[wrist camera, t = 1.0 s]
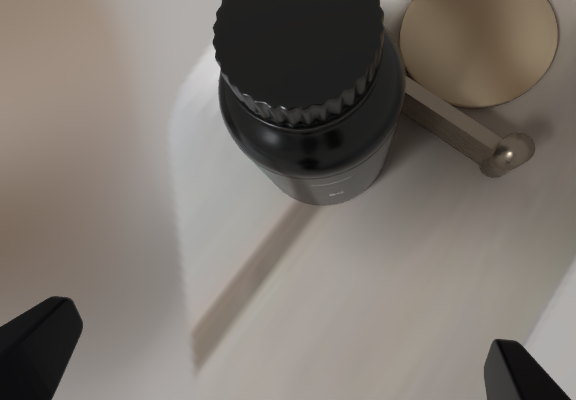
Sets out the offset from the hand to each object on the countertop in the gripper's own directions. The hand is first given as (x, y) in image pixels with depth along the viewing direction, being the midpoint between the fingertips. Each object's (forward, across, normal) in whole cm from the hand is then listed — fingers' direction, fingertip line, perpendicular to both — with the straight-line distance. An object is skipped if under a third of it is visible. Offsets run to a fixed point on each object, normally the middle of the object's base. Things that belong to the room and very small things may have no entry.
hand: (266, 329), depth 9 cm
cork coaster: (+19, -8, -2) cm, 21 cm away
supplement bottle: (+15, 0, +3) cm, 16 cm away
